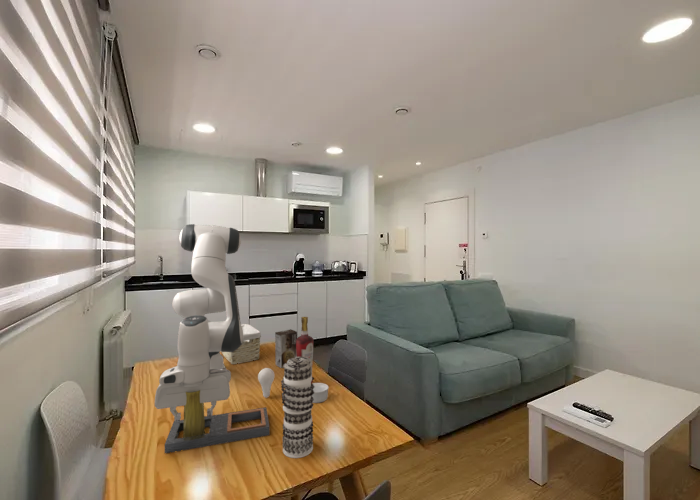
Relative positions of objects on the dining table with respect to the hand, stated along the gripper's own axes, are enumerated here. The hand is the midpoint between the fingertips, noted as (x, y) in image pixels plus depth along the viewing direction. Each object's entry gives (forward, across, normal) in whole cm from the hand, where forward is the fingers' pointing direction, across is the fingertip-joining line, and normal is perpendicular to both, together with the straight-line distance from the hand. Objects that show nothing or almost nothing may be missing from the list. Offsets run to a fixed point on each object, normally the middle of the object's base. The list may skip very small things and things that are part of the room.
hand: (194, 417), depth 97 cm
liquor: (+6, -38, -27) cm, 47 cm away
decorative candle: (+6, -28, +16) cm, 33 cm away
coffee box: (+6, -34, -54) cm, 64 cm away
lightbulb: (+6, -22, -20) cm, 31 cm away
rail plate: (+6, -8, 0) cm, 9 cm away
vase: (+6, 0, 0) cm, 6 cm away
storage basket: (+6, -12, -74) cm, 75 cm away
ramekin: (+6, -40, -13) cm, 43 cm away
